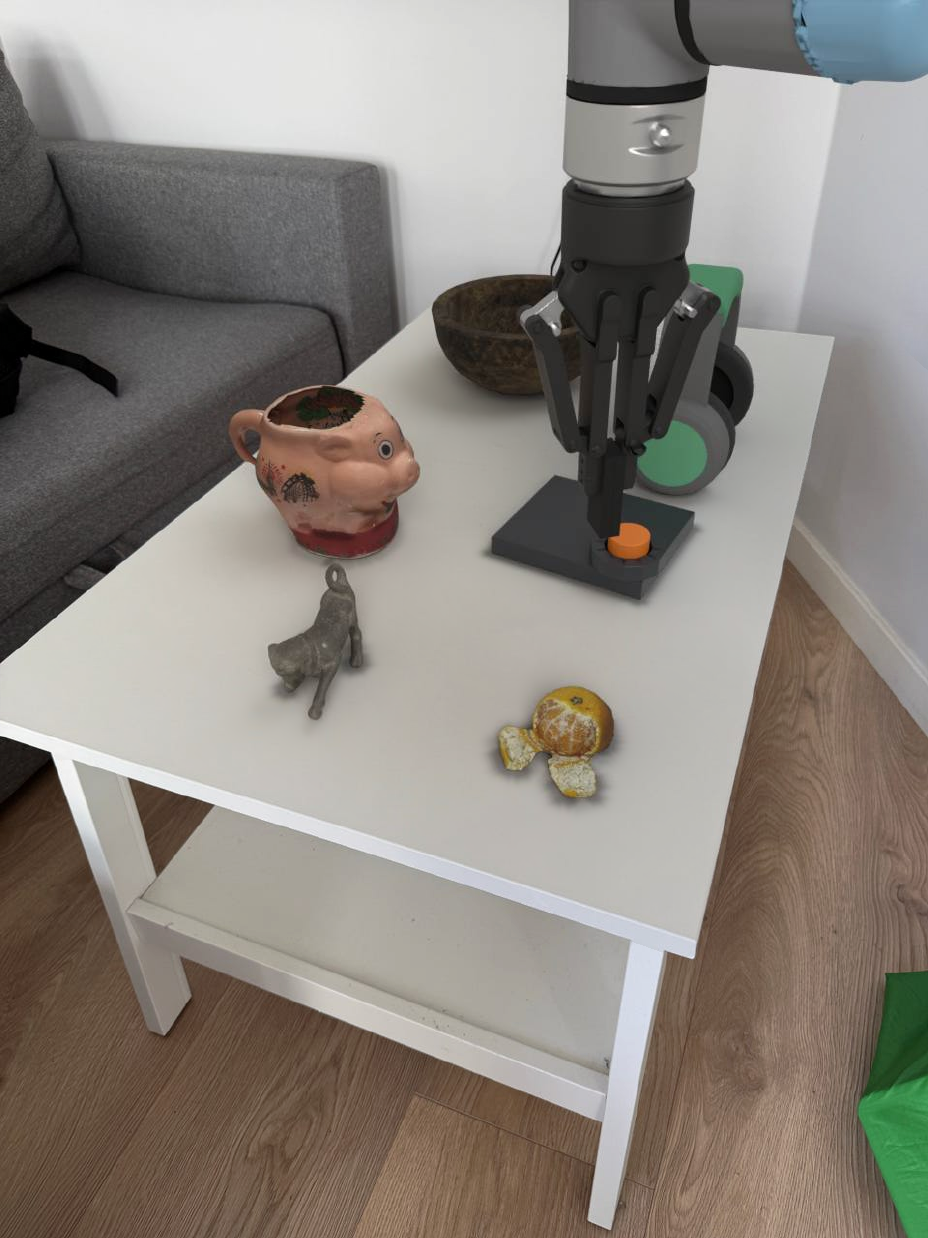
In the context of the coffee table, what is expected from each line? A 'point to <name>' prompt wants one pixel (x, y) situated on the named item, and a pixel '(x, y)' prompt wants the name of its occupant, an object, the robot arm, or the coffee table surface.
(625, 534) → the button
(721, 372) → the grey headset
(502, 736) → the fruit
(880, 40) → the robot arm
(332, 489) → the decorative planter
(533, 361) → the bowl
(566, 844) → the coffee table surface
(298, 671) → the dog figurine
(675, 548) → the scale
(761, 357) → the coffee table surface
